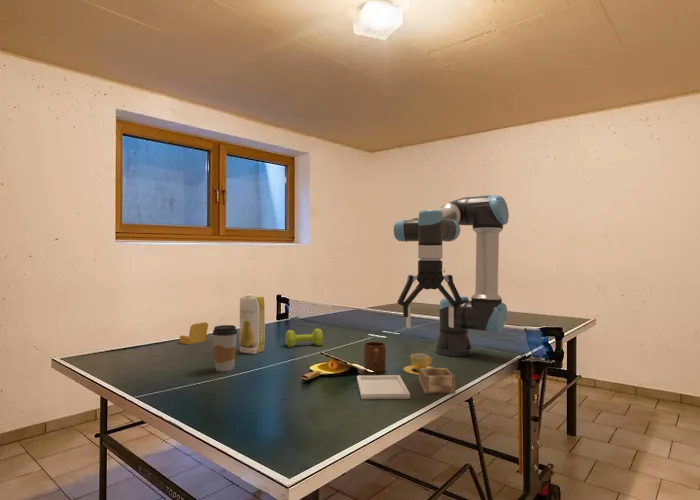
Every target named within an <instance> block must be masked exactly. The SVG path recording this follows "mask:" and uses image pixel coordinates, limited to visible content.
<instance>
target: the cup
mask: <svg viewBox="0 0 700 500" xmlns="http://www.w3.org/2000/svg"><path fill="white" fill-rule="evenodd" d="M410 360H411V365H407V366H404V367H403V369H402V370H403V371H404V372H406V373H408V374H412V375H418V376H419V368H434V367H433V366H429V365H431V364H432V362H433V358H432V357H431V356H429V355H428V354H425V353H413V354H410ZM413 369H414V371H413Z"/></svg>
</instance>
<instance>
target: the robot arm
mask: <svg viewBox="0 0 700 500" xmlns="http://www.w3.org/2000/svg"><path fill="white" fill-rule="evenodd" d="M509 215H510V214H509V208H508V204H507V202H506V200H505V198H504V197H503V196H501V195H497V194H495V195H494V194H493V195H491V194H490V195H489V194H488V195H478V196H466V197H462V198H458V199H456V200H452V201H450V202H447V203H444V204H443V205H441V206H440V208H438V209H423V210H420V211H419V212H418V216H417V217H415V218H411V219H402V220H397V221H396V222H395V223H394V224H393V225H394V226H393V237H394V238H395V240H397V242H405V243H407V242H418V243H417V244H418V245H417V246H418V248H417V258H418V259H419V260H418V261H417V275H412V274H408V275H407V278H406V279H407V281H406V283H405V285H404V287H403V289H402V292H401V294H400V296H399V297H398V299H397V304H398V305H400V306H402V308H403V310H402V313H403V314H402V316H403V317H404V318H406V319H405V322H406V325H405V327H406V328H407V329H411V319H412V317H411V316H412V315H411V312H412V311H411V306H410V304H411V303H412V302H413V301H414V299H416V297H417V296H418V295H419V293H420V292H422V291H423V290H436V289H438V291H439V292H440V293H441V295H443V297H444V298H442V299H440V301H439V331H438V332H439V334H438V336H437V338H436V339H437V340H436V343H435V345H434V351H435V353H436V354H439V355H442V356H447V357H468V356H471V355H473V346H472V343H471V339H470V337H469V331H470V330H473V331H479V332H480V331H481V332H487V333H499V332H501V331H502V329H504V326H505V324H506V321H507V318H508V317H507V316H508V307H507V304H506V303H504V302H503V299H502V297H501V296H500V294H499V250H500V249H499V246H500V232H502V231H503V230H504V226H505V225H507V224H508V223H509ZM460 226H472V230H473V231H474V233H475V235H476V237H475V243H476V244H475V286H474V287H475V292H474V294H473V295H472V296H471V297H470V298H471V300H470V299H469V297H468V296H461V295H460V294H459V292H458V289H457V287H456V284H455V283H454V279H453V275H452V274H446V275H443V261H442V259H443V242H453V241H456V240H457V239H458V237H459V236H460V234H461V227H460ZM415 281H417V282H418V284H417V285H416V287H415V289H414V290H412V292H411V293H410V294H409V296H408V293H409V291H410V289H411V287H412V285H413V283H415ZM444 281H445V282H446V283H447V285H448V287H449V289H450V292H451V293H452V295H453V297H452V296H451V294H450V293H449V292H448V291H447V290H446V289H445V287H444V286H443V285H442V283H443V282H444ZM406 297H407V298H406Z"/></svg>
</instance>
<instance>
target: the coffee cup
mask: <svg viewBox="0 0 700 500" xmlns="http://www.w3.org/2000/svg"><path fill="white" fill-rule="evenodd" d="M236 326H237V325H232V324H230V325H229V324H224V325H222V324H221V325H217V326H214V327H213V328H214V329H213V331H212V335H213V352H214V353H213V354H214V367H215V370H216V372H220V373H221V372H224V373H225V372H230V371H233V370H234V368H235V359H236V352H237V351H236V349H237V348H236V347H237V346H236V345H237V335H238V330H237V327H236Z"/></svg>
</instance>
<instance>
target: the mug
mask: <svg viewBox="0 0 700 500" xmlns="http://www.w3.org/2000/svg"><path fill="white" fill-rule="evenodd" d="M386 350H387V348H386V343H384V342H381V341H380V342H379V341H368V342H364V348H363V369H364V368H366V369H369V370H372V371H374V372H376V373H375V374H380V373H384V372H385V371H386V358H387V357H386V355H387V354H386V352H387V351H386Z"/></svg>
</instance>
